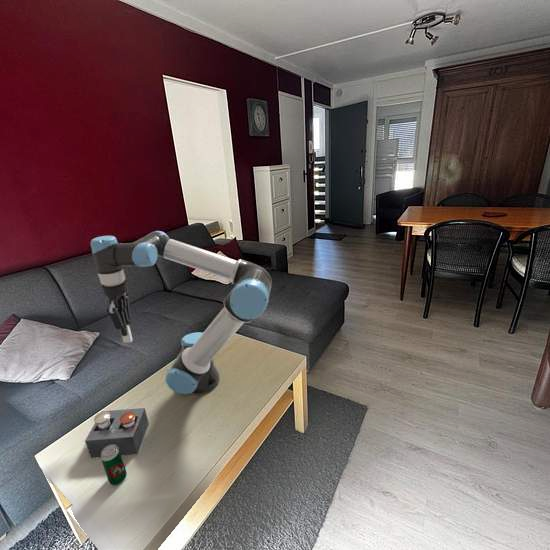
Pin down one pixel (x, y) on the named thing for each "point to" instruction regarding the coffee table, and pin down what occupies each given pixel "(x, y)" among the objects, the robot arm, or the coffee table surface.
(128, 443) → the housing
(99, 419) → the white light bulb
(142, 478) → the coffee table surface
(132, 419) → the orange light bulb
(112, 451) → the soda can
